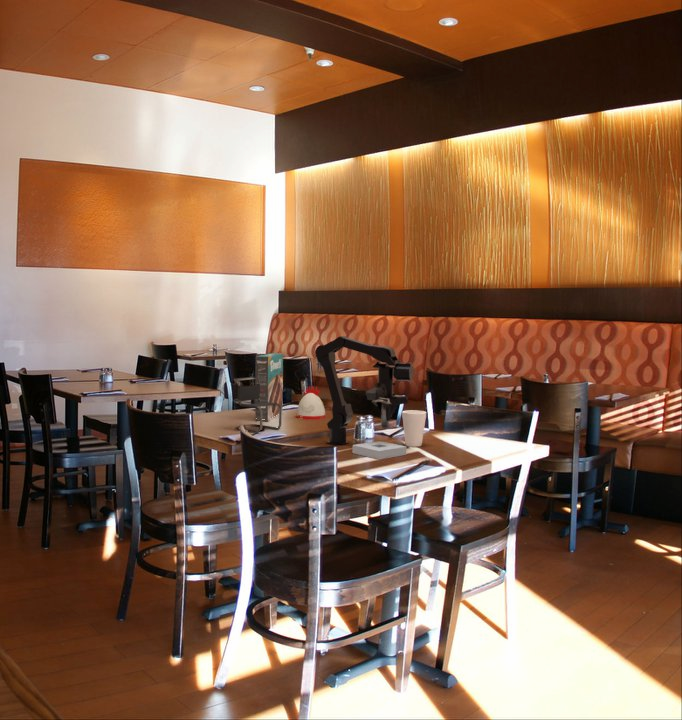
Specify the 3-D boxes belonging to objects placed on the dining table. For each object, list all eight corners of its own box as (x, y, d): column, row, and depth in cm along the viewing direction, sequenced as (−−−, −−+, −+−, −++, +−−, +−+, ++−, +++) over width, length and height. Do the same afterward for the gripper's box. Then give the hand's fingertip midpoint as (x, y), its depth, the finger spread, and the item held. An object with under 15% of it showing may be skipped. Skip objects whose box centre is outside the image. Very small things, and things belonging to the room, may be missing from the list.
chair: (253, 425, 339) (253, 376, 337) (282, 430, 328) (282, 379, 327) (231, 429, 329) (231, 378, 327) (260, 434, 318) (261, 381, 317)
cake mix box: (267, 422, 350) (268, 356, 348) (255, 421, 352) (255, 356, 349) (282, 415, 372) (282, 353, 369) (270, 414, 373) (271, 353, 371)
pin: (379, 426, 293) (379, 402, 292) (385, 426, 295) (385, 401, 294) (384, 427, 290) (385, 403, 290) (390, 427, 292) (390, 402, 292)
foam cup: (397, 443, 302) (398, 410, 301) (418, 442, 305) (419, 409, 304) (408, 447, 293) (408, 414, 292) (429, 446, 297) (430, 413, 296)
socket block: (352, 453, 282) (352, 445, 281) (380, 448, 291) (380, 440, 290) (378, 459, 271) (378, 451, 271) (406, 454, 280) (406, 446, 280)
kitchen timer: (321, 420, 358) (321, 388, 357) (292, 418, 361) (293, 387, 360) (328, 416, 372) (328, 385, 370) (301, 414, 375) (301, 384, 374)
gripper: (353, 378, 293) (353, 419, 294) (387, 383, 279) (386, 425, 280) (374, 377, 300) (374, 416, 301) (408, 381, 286) (408, 422, 287)
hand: (385, 420), depth 292 cm, fingers closed on pin, 3 cm apart
